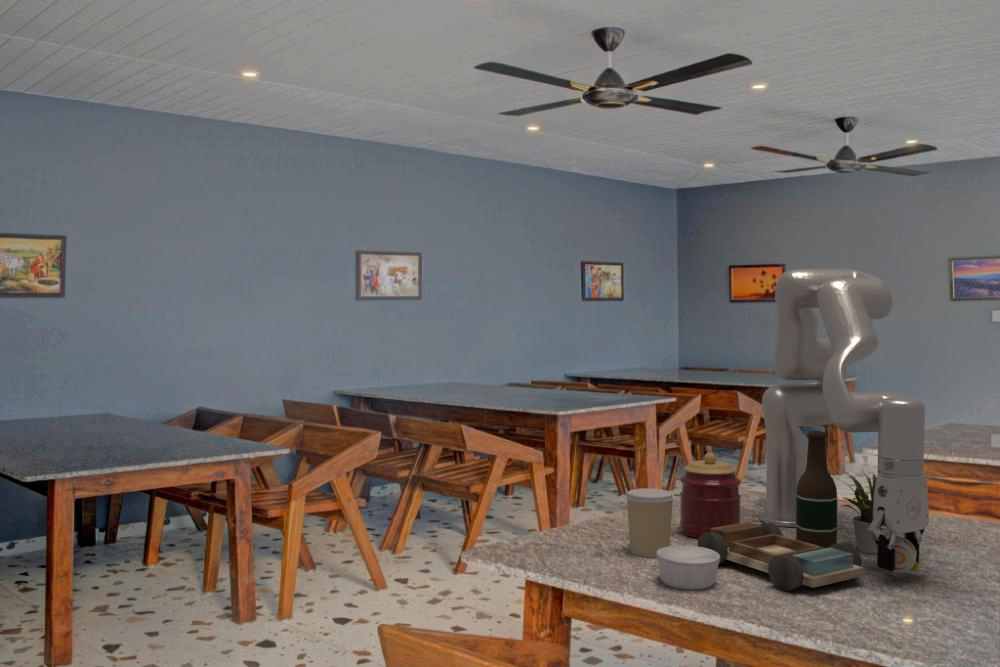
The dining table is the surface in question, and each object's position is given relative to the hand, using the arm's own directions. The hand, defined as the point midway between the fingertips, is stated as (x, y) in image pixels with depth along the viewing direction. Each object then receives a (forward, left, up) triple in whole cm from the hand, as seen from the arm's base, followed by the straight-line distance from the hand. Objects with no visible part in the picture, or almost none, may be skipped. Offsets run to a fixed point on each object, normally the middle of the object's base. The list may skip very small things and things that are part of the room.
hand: (898, 565), depth 159 cm
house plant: (-14, +14, -3) cm, 20 cm away
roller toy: (0, 0, -1) cm, 1 cm away
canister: (-42, -5, -3) cm, 43 cm away
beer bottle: (-21, +4, -3) cm, 22 cm away
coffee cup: (-37, -26, -3) cm, 46 cm away
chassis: (-15, -14, -3) cm, 21 cm away
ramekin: (-18, -33, -3) cm, 38 cm away
